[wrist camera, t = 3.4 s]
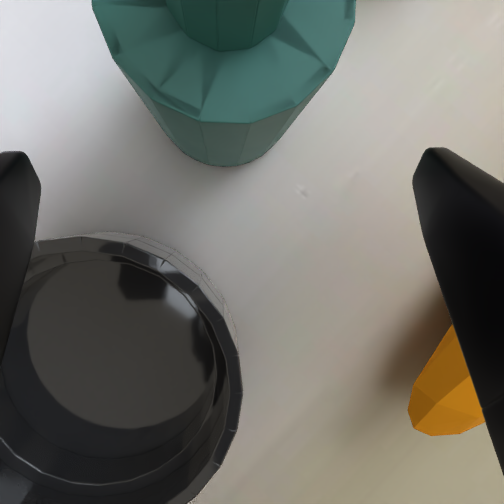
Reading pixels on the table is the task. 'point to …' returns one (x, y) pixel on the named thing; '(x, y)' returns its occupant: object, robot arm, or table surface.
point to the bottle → (225, 66)
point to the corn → (445, 393)
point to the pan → (116, 376)
